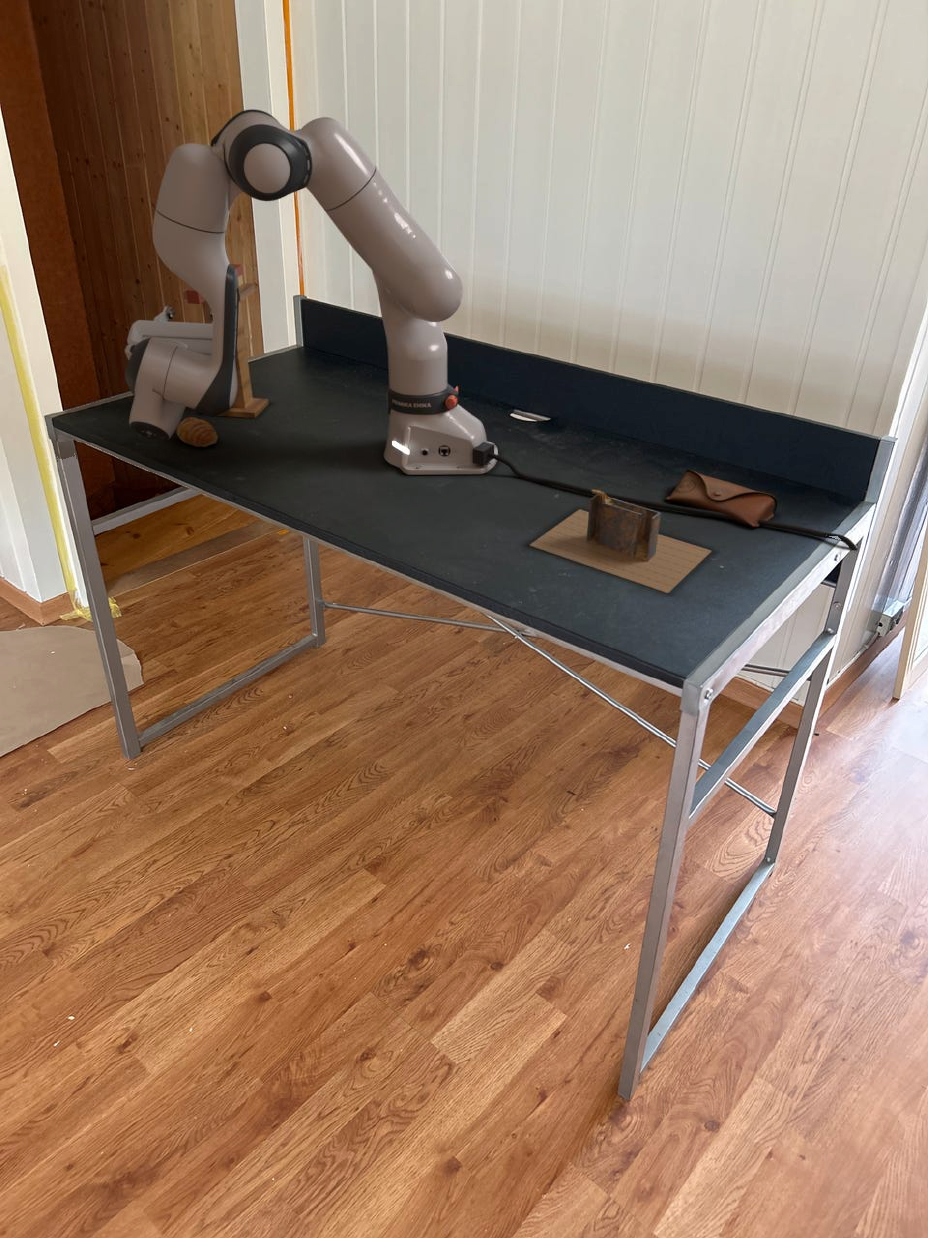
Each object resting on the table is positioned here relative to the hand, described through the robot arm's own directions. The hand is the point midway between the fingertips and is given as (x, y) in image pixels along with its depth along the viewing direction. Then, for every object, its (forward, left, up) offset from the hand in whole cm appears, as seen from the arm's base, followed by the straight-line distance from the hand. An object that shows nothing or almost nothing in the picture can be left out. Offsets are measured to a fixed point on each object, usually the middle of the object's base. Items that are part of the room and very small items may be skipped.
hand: (193, 309), depth 177 cm
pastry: (+1, +4, -25) cm, 26 cm away
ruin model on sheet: (-85, +35, -25) cm, 95 cm away
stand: (0, -13, -25) cm, 28 cm away
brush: (0, -9, +1) cm, 9 cm away
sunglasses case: (-102, +17, -25) cm, 106 cm away
